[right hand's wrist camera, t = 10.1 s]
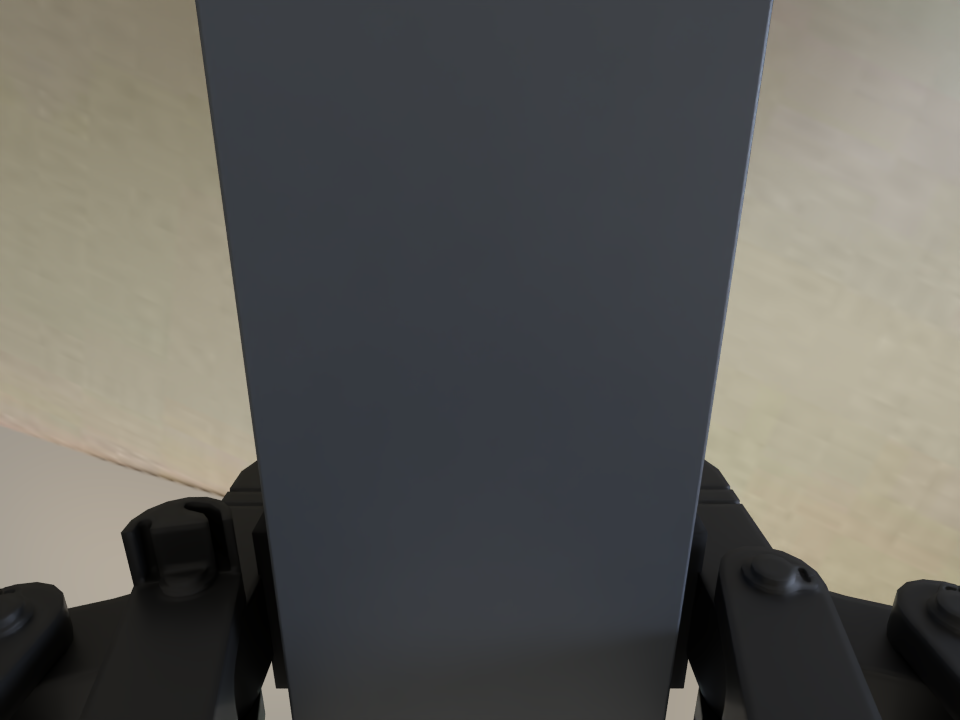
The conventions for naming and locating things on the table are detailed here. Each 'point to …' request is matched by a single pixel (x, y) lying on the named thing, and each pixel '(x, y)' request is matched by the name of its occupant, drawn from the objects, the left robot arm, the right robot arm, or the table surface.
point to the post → (481, 334)
